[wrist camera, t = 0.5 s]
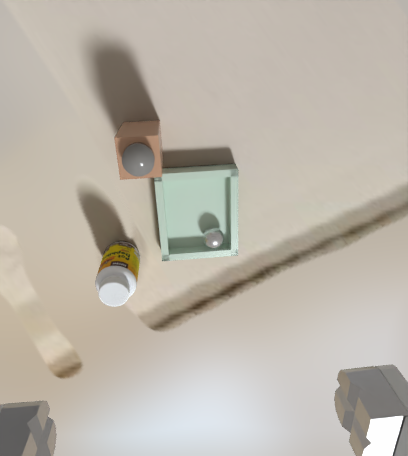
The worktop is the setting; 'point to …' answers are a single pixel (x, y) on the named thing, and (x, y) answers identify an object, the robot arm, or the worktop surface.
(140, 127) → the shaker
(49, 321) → the worktop surface
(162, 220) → the tray
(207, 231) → the mixing ball
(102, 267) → the supplement bottle
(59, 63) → the worktop surface
